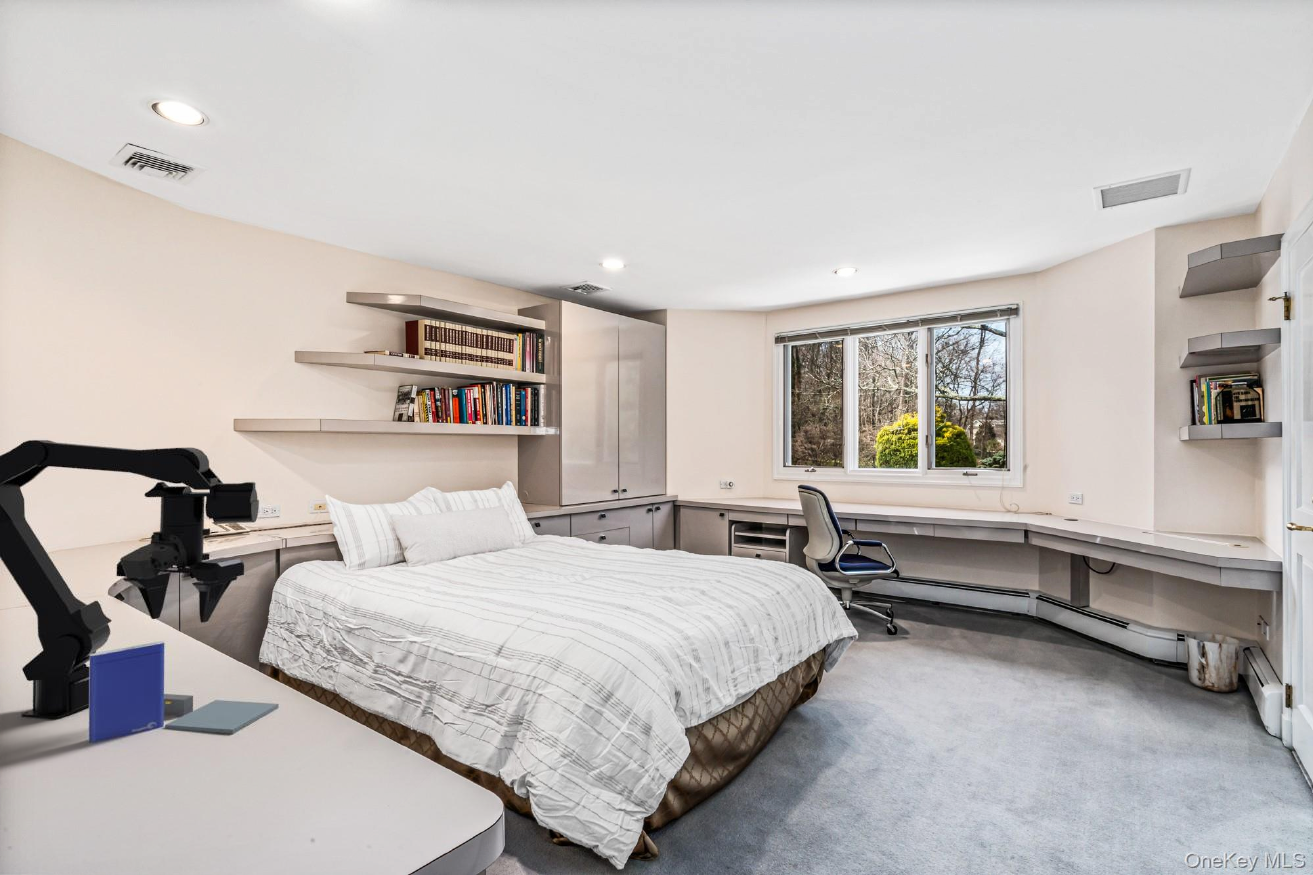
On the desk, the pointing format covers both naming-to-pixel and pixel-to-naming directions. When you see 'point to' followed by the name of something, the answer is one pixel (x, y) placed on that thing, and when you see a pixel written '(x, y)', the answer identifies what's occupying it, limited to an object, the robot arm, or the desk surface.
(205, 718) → the mat
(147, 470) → the robot arm
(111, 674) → the hard drive
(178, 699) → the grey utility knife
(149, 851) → the desk surface
